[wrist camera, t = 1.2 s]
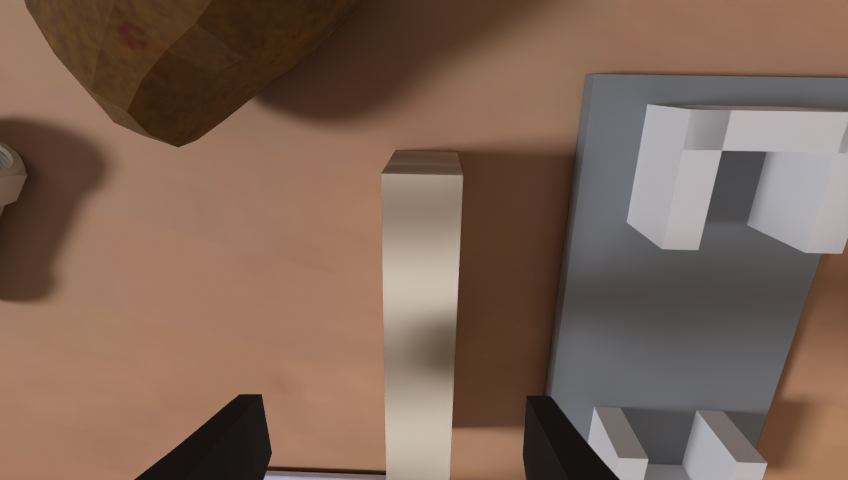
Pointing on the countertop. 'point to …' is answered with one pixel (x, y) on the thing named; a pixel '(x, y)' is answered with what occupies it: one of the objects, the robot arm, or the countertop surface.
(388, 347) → the slat
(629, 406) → the board
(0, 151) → the pipe fitting
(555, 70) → the countertop surface
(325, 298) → the countertop surface
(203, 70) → the potato
